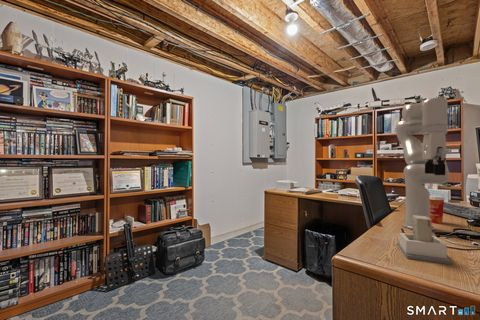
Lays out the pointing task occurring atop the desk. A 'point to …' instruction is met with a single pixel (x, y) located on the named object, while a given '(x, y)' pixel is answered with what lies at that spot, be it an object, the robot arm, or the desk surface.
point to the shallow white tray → (423, 249)
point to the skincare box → (422, 228)
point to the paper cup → (436, 209)
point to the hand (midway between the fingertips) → (434, 174)
